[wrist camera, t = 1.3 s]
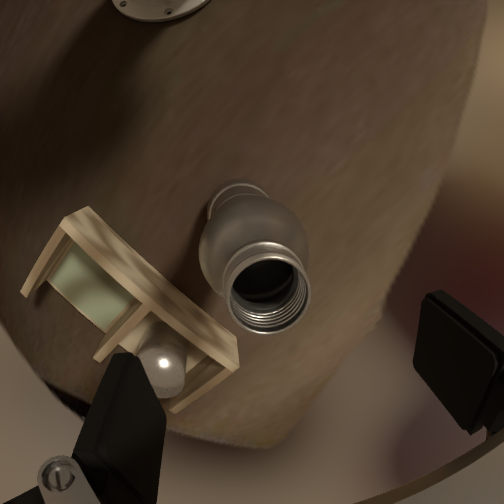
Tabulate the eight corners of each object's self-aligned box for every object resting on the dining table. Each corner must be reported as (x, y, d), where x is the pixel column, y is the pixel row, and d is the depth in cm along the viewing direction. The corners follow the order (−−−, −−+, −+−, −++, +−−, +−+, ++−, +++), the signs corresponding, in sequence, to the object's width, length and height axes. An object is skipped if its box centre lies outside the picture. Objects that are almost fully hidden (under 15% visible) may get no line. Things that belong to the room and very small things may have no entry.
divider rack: (43, 271, 31) (20, 291, 25) (88, 205, 29) (64, 217, 24) (179, 383, 38) (175, 414, 32) (236, 337, 36) (239, 367, 31)
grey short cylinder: (137, 324, 33) (122, 361, 27) (182, 318, 34) (175, 356, 27) (151, 361, 35) (142, 399, 29) (194, 356, 35) (190, 395, 29)
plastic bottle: (217, 246, 32) (217, 376, 13) (200, 185, 30) (166, 242, 11) (276, 231, 32) (349, 340, 14) (262, 169, 30) (332, 199, 11)
